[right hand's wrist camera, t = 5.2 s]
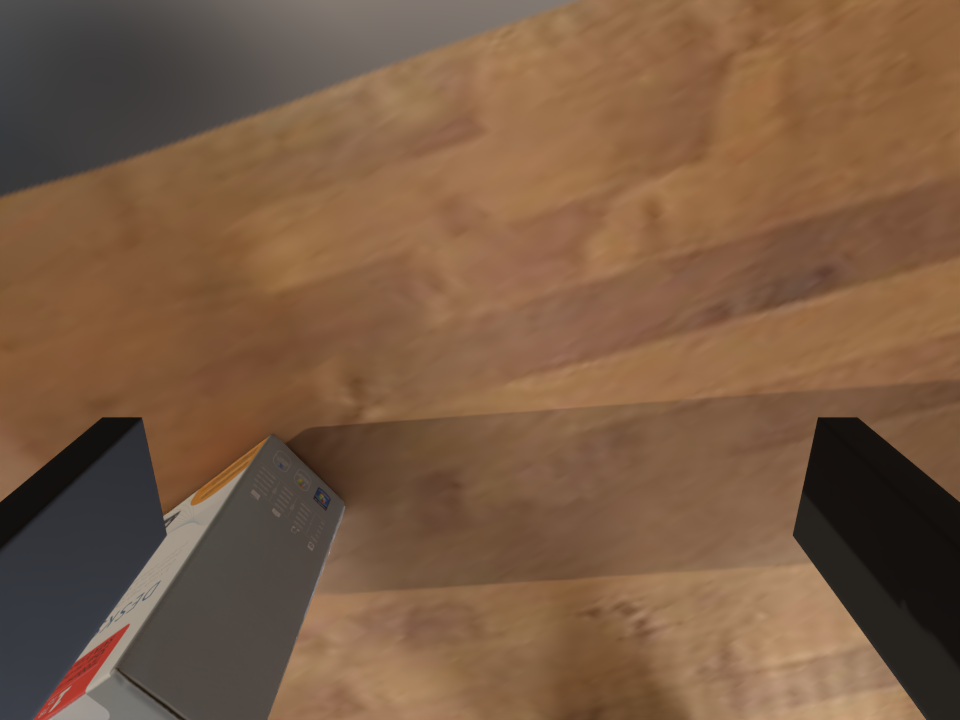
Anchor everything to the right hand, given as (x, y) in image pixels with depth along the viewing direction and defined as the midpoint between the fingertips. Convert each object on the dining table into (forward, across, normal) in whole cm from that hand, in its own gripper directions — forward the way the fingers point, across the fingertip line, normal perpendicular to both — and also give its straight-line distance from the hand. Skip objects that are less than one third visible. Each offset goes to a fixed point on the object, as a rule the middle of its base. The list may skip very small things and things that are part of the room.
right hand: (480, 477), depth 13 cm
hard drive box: (+28, +18, +21) cm, 39 cm away
